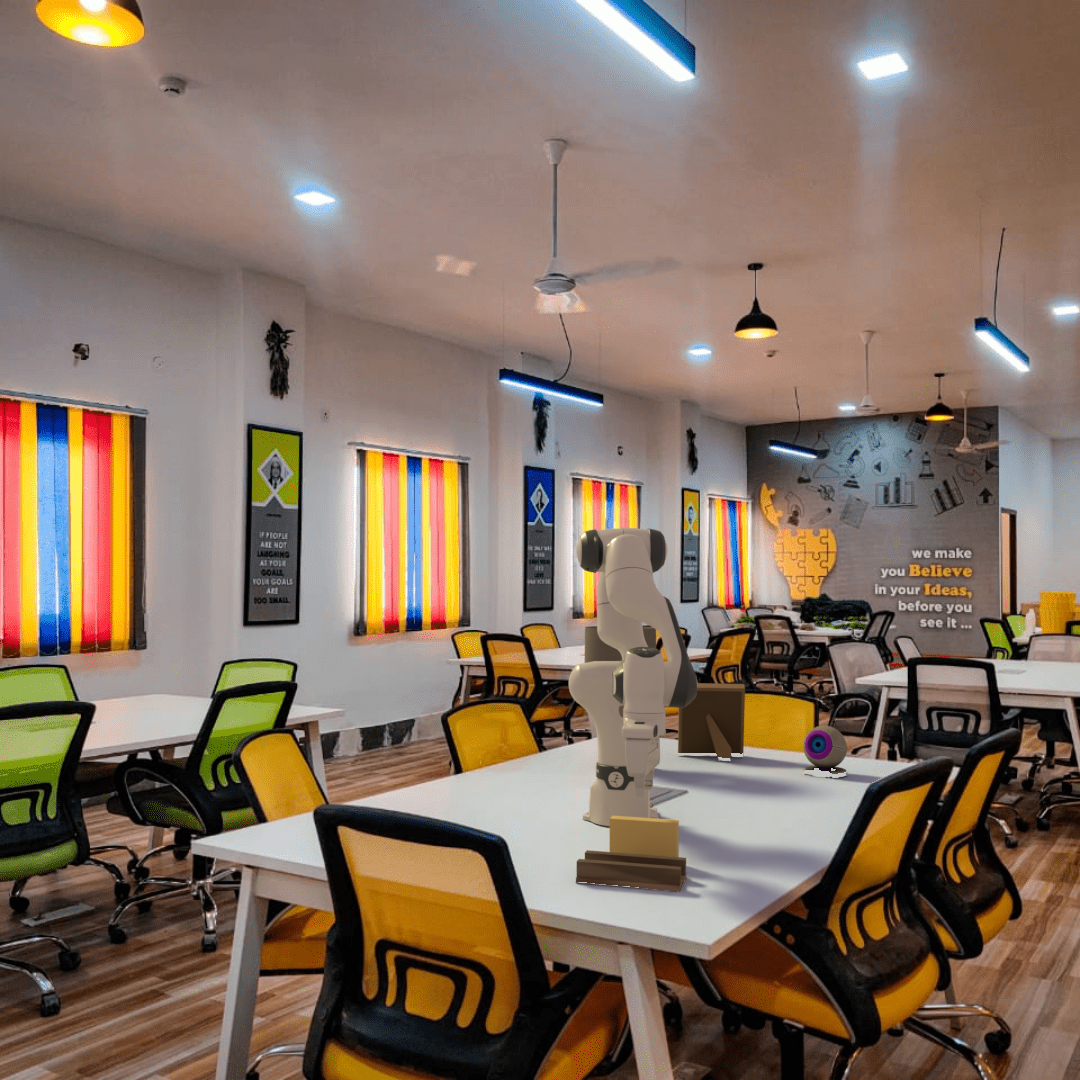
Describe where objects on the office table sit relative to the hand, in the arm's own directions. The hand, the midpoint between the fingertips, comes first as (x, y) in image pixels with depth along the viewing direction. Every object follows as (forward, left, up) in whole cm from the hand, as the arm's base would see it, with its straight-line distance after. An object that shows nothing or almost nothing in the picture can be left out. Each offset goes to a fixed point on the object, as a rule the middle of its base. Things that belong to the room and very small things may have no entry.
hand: (644, 792), depth 218 cm
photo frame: (-139, -1, -15) cm, 140 cm away
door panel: (0, 0, -15) cm, 15 cm away
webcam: (-119, +36, -15) cm, 126 cm away
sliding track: (+14, 0, -14) cm, 20 cm away
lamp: (-112, -27, -15) cm, 117 cm away
